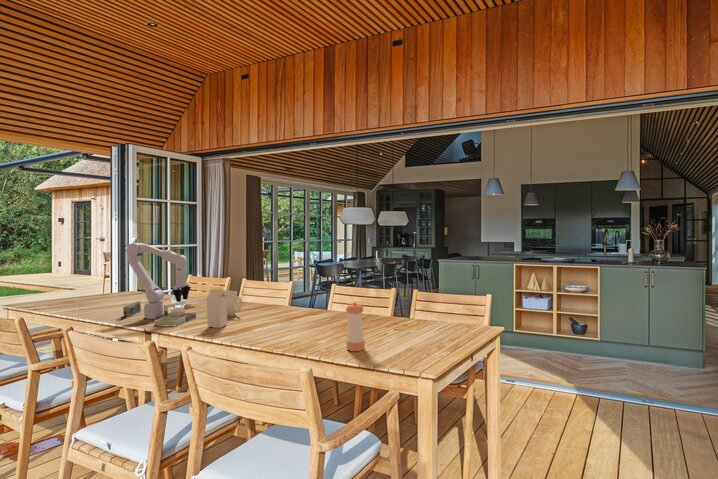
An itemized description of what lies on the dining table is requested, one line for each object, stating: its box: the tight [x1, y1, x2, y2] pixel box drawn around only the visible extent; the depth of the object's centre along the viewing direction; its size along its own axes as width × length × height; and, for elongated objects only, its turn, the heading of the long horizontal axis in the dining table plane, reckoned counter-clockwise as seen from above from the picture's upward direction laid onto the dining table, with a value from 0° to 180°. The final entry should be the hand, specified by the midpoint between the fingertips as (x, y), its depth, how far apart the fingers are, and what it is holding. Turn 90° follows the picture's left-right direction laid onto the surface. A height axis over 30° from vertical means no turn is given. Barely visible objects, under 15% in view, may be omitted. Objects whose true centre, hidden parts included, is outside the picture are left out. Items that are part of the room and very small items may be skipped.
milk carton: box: [206, 288, 228, 329], centre depth 235 cm, size 7×7×19 cm
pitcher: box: [223, 289, 243, 317], centre depth 264 cm, size 11×18×14 cm, turn 62°
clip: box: [163, 300, 186, 315], centre depth 262 cm, size 16×2×5 cm, turn 158°
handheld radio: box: [120, 300, 142, 319], centre depth 269 cm, size 7×3×25 cm
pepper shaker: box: [345, 302, 366, 352], centre depth 187 cm, size 7×7×19 cm
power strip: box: [155, 311, 197, 322], centre depth 255 cm, size 18×10×3 cm, turn 83°
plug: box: [169, 307, 186, 316], centre depth 255 cm, size 6×6×6 cm
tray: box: [153, 317, 187, 326], centre depth 243 cm, size 12×10×3 cm
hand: (182, 300), depth 261 cm, fingers open, 7 cm apart
